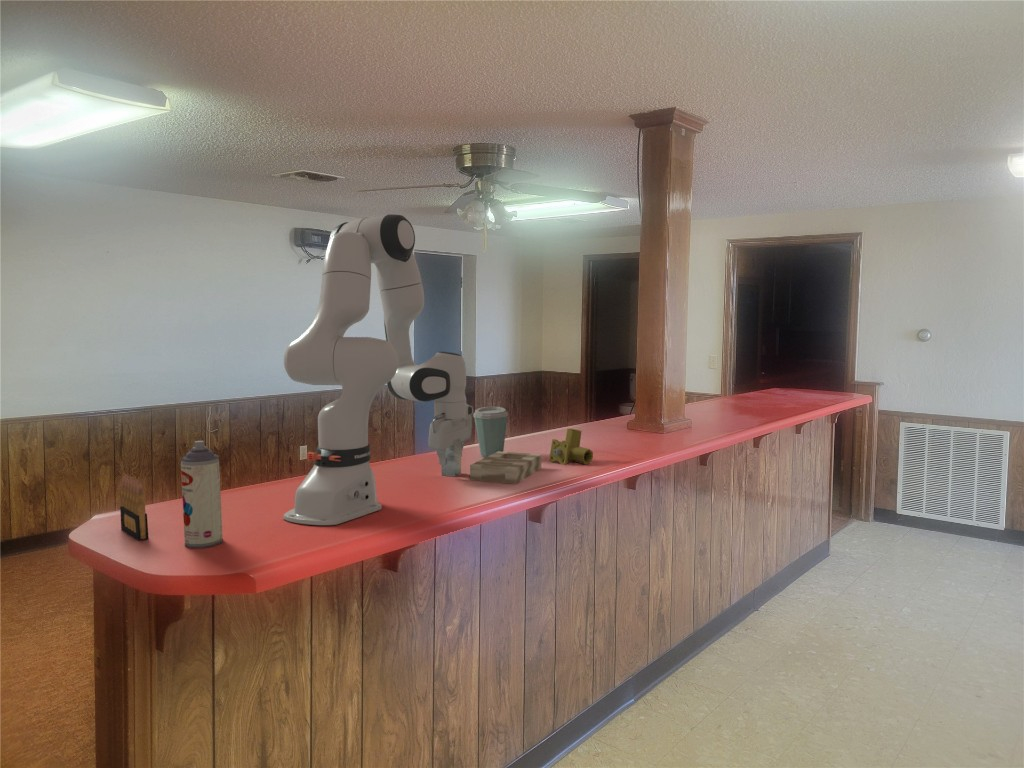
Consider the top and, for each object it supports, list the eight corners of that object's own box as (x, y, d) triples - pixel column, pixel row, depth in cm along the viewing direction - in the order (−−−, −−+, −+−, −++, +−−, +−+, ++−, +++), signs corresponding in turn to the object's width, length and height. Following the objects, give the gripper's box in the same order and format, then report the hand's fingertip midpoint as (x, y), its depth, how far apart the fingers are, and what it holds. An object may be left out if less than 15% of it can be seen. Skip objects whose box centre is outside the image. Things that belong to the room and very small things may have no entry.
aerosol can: (181, 541, 143) (176, 440, 141) (217, 535, 147) (213, 437, 145) (189, 550, 138) (184, 446, 135) (226, 543, 142) (222, 442, 139)
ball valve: (561, 459, 224) (539, 459, 218) (566, 426, 224) (544, 425, 217) (592, 468, 215) (570, 468, 208) (597, 434, 215) (575, 433, 208)
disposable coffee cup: (508, 460, 219) (508, 410, 217) (472, 460, 219) (472, 411, 217) (508, 453, 229) (508, 406, 228) (474, 453, 229) (473, 406, 228)
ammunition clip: (148, 539, 145) (145, 479, 143) (138, 541, 143) (135, 481, 142) (130, 527, 152) (127, 471, 151) (121, 529, 151) (117, 472, 150)
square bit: (454, 476, 198) (454, 440, 197) (441, 475, 199) (441, 439, 198) (461, 473, 201) (460, 437, 200) (448, 472, 203) (447, 437, 202)
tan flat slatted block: (516, 483, 189) (516, 468, 189) (470, 479, 194) (470, 465, 194) (541, 468, 208) (541, 454, 208) (498, 464, 213) (498, 451, 212)
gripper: (444, 417, 188) (444, 469, 189) (475, 406, 207) (475, 454, 208) (422, 415, 190) (422, 467, 192) (455, 405, 209) (455, 453, 211)
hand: (450, 460), depth 200 cm, fingers open, 8 cm apart
